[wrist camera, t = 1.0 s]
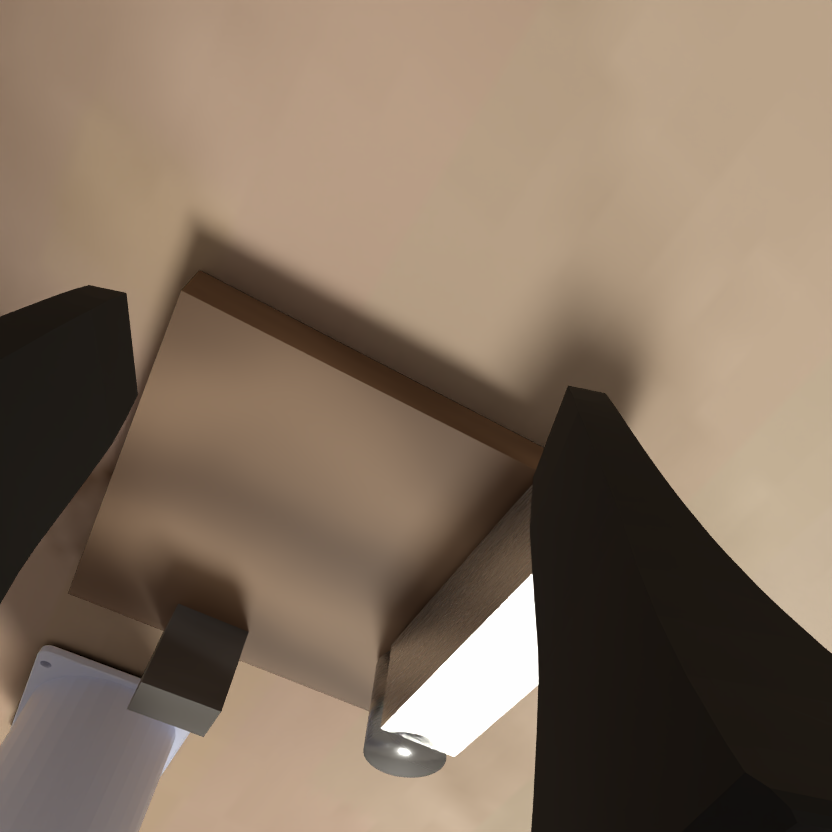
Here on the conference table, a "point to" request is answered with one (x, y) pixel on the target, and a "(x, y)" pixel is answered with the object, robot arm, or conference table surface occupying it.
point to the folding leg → (459, 657)
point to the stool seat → (285, 506)
